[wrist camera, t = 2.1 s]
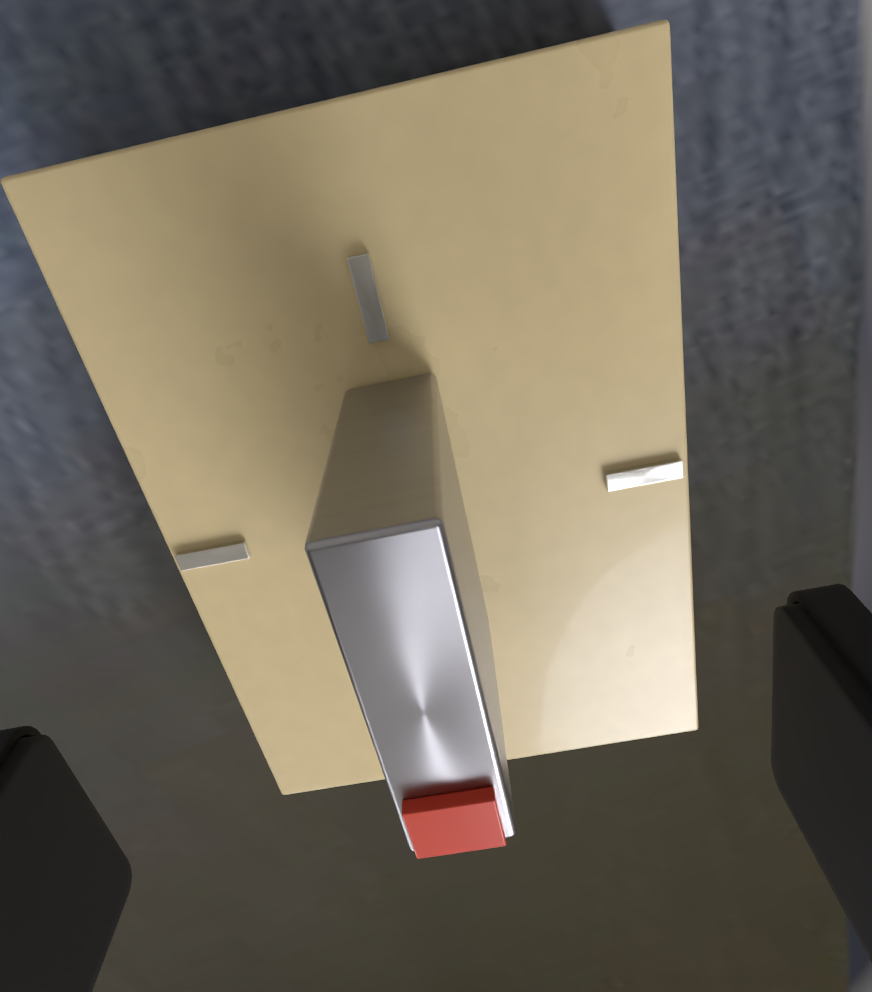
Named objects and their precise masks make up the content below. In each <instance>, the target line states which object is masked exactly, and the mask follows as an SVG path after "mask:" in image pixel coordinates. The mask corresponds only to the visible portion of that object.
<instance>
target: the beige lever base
mask: <svg viewBox="0 0 872 992" xmlns="http://www.w3.org/2000/svg"><path fill="white" fill-rule="evenodd" d="M1 184H2V187H3V189H4V191H5V193H6V195H7V197H8V200H9V202H10V204H11V206H12V208H13V210H14V213H15V215H16V217H17V219H18V221H19V223H20V226H21V228H22V230H23V232H24V234H25V236H26V239H27V241H28V243H29V245H30V247H31V250H32V252H33V254H34V256H35V258H36V260H37V263H38V265H39V267H40V269H41V271H42V273H43V276H44V278H45V280H46V282H47V284H48V286H49V289H50V291H51V293H52V295H53V297H54V300H55V302H56V304H57V306H58V308H59V310H60V313H61V315H62V317H63V319H64V321H65V323H66V326H67V328H68V330H69V332H70V334H71V336H72V339H73V341H74V343H75V345H76V347H77V350H78V352H79V354H80V356H81V358H82V360H83V363H84V365H85V367H86V369H87V371H88V373H89V376H90V378H91V380H92V382H93V384H94V386H95V389H96V391H97V393H98V395H99V397H100V400H101V402H102V404H103V406H104V408H105V410H106V413H107V415H108V417H109V419H110V421H111V423H112V426H113V428H114V430H115V432H116V434H117V436H118V439H119V441H120V443H121V445H122V447H123V449H124V452H125V454H126V456H127V458H128V460H129V463H130V465H131V467H132V469H133V471H134V473H135V476H136V478H137V480H138V482H139V484H140V486H141V489H142V491H143V493H144V495H145V497H146V499H147V502H148V504H149V506H150V508H151V510H152V513H153V515H154V517H155V519H156V521H157V523H158V526H159V528H160V530H161V532H162V534H163V536H164V539H165V541H166V543H167V545H168V547H169V549H170V552H171V554H172V556H173V558H174V560H175V563H176V565H177V567H178V569H179V571H180V573H181V576H182V578H183V580H184V582H185V584H186V586H187V589H188V591H189V593H190V595H191V597H192V599H193V602H194V604H195V606H196V608H197V610H198V613H199V615H200V617H201V619H202V621H203V623H204V626H205V628H206V630H207V632H208V634H209V636H210V639H211V641H212V643H213V645H214V647H215V649H216V652H217V654H218V656H219V658H220V660H221V662H222V665H223V667H224V669H225V671H226V673H227V676H228V678H229V680H230V682H231V684H232V686H233V689H234V691H235V693H236V695H237V697H238V699H239V702H240V704H241V706H242V708H243V710H244V712H245V715H246V717H247V719H248V721H249V723H250V726H251V728H252V730H253V732H254V734H255V736H256V739H257V741H258V743H259V745H260V747H261V749H262V752H263V754H264V756H265V758H266V760H267V762H268V765H269V767H270V769H271V771H272V773H273V776H274V778H275V780H276V782H277V784H278V786H279V789H280V791H281V793H282V794H283V795H286V794H293V793H299V792H305V791H312V790H318V789H325V788H331V787H337V786H344V785H350V784H356V783H363V782H369V781H375V780H382V779H385V776H384V774H383V771H382V768H381V765H380V762H379V759H378V756H377V754H376V751H375V748H374V745H373V742H372V739H371V737H370V734H369V731H368V728H367V725H366V722H365V719H364V717H363V714H362V711H361V708H360V705H359V702H358V700H357V697H356V694H355V691H354V688H353V685H352V682H351V680H350V677H349V674H348V671H347V668H346V665H345V663H344V660H343V657H342V654H341V651H340V648H339V645H338V643H337V640H336V637H335V634H334V631H333V628H332V626H331V623H330V620H329V617H328V614H327V611H326V608H325V606H324V603H323V600H322V597H321V594H320V591H319V589H318V586H317V583H316V580H315V577H314V574H313V571H312V569H311V566H310V563H309V560H308V557H307V554H306V552H305V542H306V539H307V535H308V531H309V527H310V523H311V520H312V516H313V512H314V508H315V504H316V501H317V497H318V493H319V489H320V485H321V482H322V478H323V474H324V470H325V467H326V463H327V459H328V455H329V451H330V448H331V444H332V440H333V436H334V432H335V429H336V425H337V421H338V417H339V413H340V410H341V406H342V402H343V398H344V395H345V391H347V390H348V389H353V388H358V387H363V386H367V385H372V384H377V383H382V382H387V381H392V380H397V379H402V378H407V377H412V376H416V375H421V374H426V373H434V374H435V376H436V378H437V382H438V387H439V392H440V396H441V401H442V406H443V410H444V415H445V420H446V424H447V429H448V433H449V438H450V443H451V447H452V452H453V457H454V461H455V466H456V471H457V475H458V480H459V484H460V489H461V494H462V498H463V503H464V508H465V512H466V517H467V522H468V526H469V531H470V536H471V540H472V545H473V549H474V554H475V559H476V563H477V568H478V573H479V577H480V582H481V587H482V591H483V596H484V600H485V605H486V610H487V614H488V619H489V626H490V634H491V641H492V649H493V657H494V665H495V672H496V680H497V688H498V695H499V703H500V711H501V719H502V726H503V734H504V742H505V749H506V757H507V760H509V759H515V758H522V757H528V756H534V755H541V754H547V753H554V752H560V751H566V750H573V749H579V748H585V747H592V746H598V745H604V744H611V743H617V742H624V741H630V740H636V739H643V738H649V737H655V736H662V735H668V734H674V733H681V732H687V731H694V730H697V729H698V707H697V683H696V658H695V633H694V609H693V584H692V559H691V535H690V510H689V485H688V461H687V436H686V411H685V387H684V362H683V338H682V313H681V288H680V264H679V239H678V214H677V190H676V165H675V140H674V116H673V91H672V66H671V42H670V24H669V22H668V20H659V21H655V22H651V23H647V24H643V25H638V26H634V27H630V28H626V29H622V30H617V31H613V32H609V33H605V34H601V35H596V36H592V37H588V38H584V39H580V40H576V41H571V42H567V43H563V44H559V45H555V46H550V47H546V48H542V49H538V50H534V51H529V52H525V53H521V54H517V55H513V56H508V57H504V58H500V59H496V60H492V61H487V62H483V63H479V64H475V65H471V66H467V67H462V68H458V69H454V70H450V71H446V72H441V73H437V74H433V75H429V76H425V77H420V78H416V79H412V80H408V81H404V82H399V83H395V84H391V85H387V86H383V87H379V88H374V89H370V90H366V91H362V92H358V93H353V94H349V95H345V96H341V97H337V98H332V99H328V100H324V101H320V102H316V103H311V104H307V105H303V106H299V107H295V108H290V109H286V110H282V111H278V112H274V113H270V114H265V115H261V116H257V117H253V118H249V119H244V120H240V121H236V122H232V123H228V124H223V125H219V126H215V127H211V128H207V129H202V130H198V131H194V132H190V133H186V134H181V135H177V136H173V137H169V138H165V139H161V140H156V141H152V142H148V143H144V144H140V145H135V146H131V147H127V148H123V149H119V150H114V151H110V152H106V153H102V154H98V155H93V156H89V157H85V158H81V159H77V160H73V161H68V162H64V163H60V164H56V165H52V166H47V167H43V168H39V169H35V170H31V171H26V172H22V173H18V174H14V175H10V176H5V177H3V178H2V179H1Z"/></svg>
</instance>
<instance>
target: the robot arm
mask: <svg viewBox="0 0 872 992" xmlns="http://www.w3.org/2000/svg"><path fill="white" fill-rule="evenodd" d="M771 761H772V768H773V773H774V777H775V780H776V782H777V785H778V788H779V790H780V792H781V794H782V796H783V798H784V799H785V801H786V803H787V805H788V807H789V809H790V811H791V812H792V814H793V816H794V818H795V820H796V822H797V824H798V826H799V827H800V829H801V831H802V833H803V835H804V837H805V839H806V840H807V842H808V844H809V846H810V848H811V850H812V852H813V854H814V855H815V857H816V859H817V861H818V863H819V865H820V867H821V868H822V870H823V872H824V874H825V876H826V878H827V880H828V882H829V883H830V885H831V887H832V889H833V891H834V893H835V895H836V896H837V898H838V900H839V902H840V904H841V906H842V908H843V910H844V911H845V913H846V915H847V917H848V919H849V921H850V923H851V924H852V926H853V928H854V930H855V932H856V934H857V936H858V938H859V939H860V941H861V943H862V945H863V947H864V949H865V951H866V952H867V954H868V956H869V958H870V960H871V962H872V613H871V612H870V611H869V610H868V609H867V608H866V607H865V606H864V605H863V603H862V602H861V601H860V600H859V599H858V598H857V597H856V596H855V595H854V594H853V592H852V591H851V590H849V589H848V588H847V587H846V586H845V585H842V584H835V585H829V586H824V587H818V588H812V589H807V590H801V591H795V592H792V593H790V594H789V596H788V599H787V605H786V606H780V607H777V608H776V609H775V611H774V635H773V692H772V748H771ZM131 880H132V873H131V867H130V864H129V861H128V859H127V858H126V856H125V855H124V853H123V851H122V850H121V848H120V847H119V845H118V843H117V842H116V840H115V839H114V837H113V836H112V834H111V832H110V831H109V829H108V828H107V826H106V824H105V823H104V821H103V820H102V818H101V817H100V815H99V813H98V812H97V810H96V809H95V807H94V805H93V804H92V802H91V801H90V799H89V798H88V796H87V794H86V793H85V791H84V790H83V788H82V786H81V785H80V783H79V782H78V780H77V779H76V777H75V775H74V774H73V772H72V771H71V769H70V768H69V766H68V764H67V763H66V761H65V760H64V758H63V756H62V755H61V753H60V752H59V750H58V749H57V747H56V745H55V744H54V742H53V741H52V740H51V739H50V737H48V736H46V735H41V734H40V732H39V731H38V730H37V729H35V728H33V727H31V726H23V727H17V728H11V729H6V730H0V992H92V990H93V987H94V985H95V982H96V979H97V977H98V974H99V971H100V969H101V966H102V963H103V961H104V958H105V955H106V953H107V950H108V947H109V945H110V942H111V939H112V937H113V934H114V931H115V929H116V926H117V923H118V921H119V918H120V915H121V913H122V910H123V907H124V905H125V902H126V899H127V897H128V894H129V891H130V887H131Z"/></svg>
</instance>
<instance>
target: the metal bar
mask: <svg viewBox="0 0 872 992" xmlns="http://www.w3.org/2000/svg"><path fill="white" fill-rule="evenodd" d="M305 552H306V554H307V557H308V560H309V563H310V566H311V569H312V571H313V574H314V577H315V580H316V583H317V586H318V589H319V591H320V594H321V597H322V600H323V603H324V606H325V608H326V611H327V614H328V617H329V620H330V623H331V626H332V628H333V631H334V634H335V637H336V640H337V643H338V645H339V648H340V651H341V654H342V657H343V660H344V663H345V665H346V668H347V671H348V674H349V677H350V680H351V682H352V685H353V688H354V691H355V694H356V697H357V700H358V702H359V705H360V708H361V711H362V714H363V717H364V719H365V722H366V725H367V728H368V731H369V734H370V737H371V739H372V742H373V745H374V748H375V751H376V754H377V756H378V759H379V762H380V765H381V768H382V771H383V774H384V776H385V779H386V782H387V785H388V788H389V791H390V794H391V796H392V799H393V802H394V805H395V808H396V811H397V813H398V816H399V819H400V822H401V825H402V828H403V831H404V833H405V836H406V839H407V842H408V845H409V847H410V849H411V850H413V851H415V854H416V857H417V858H418V859H420V858H426V857H433V856H440V855H447V854H454V853H460V852H467V851H474V850H481V849H488V848H494V847H501V846H506V837H512V836H513V835H514V834H515V830H516V826H515V819H514V811H513V803H512V796H511V788H510V780H509V773H508V765H507V757H506V749H505V742H504V734H503V726H502V719H501V711H500V703H499V695H498V688H497V680H496V672H495V665H494V657H493V649H492V641H491V634H490V626H489V619H488V614H487V610H486V605H485V600H484V596H483V591H482V587H481V582H480V577H479V573H478V568H477V563H476V559H475V554H474V549H473V545H472V540H471V536H470V531H469V526H468V522H467V517H466V512H465V508H464V503H463V498H462V494H461V489H460V484H459V480H458V475H457V471H456V466H455V461H454V457H453V452H452V447H451V443H450V438H449V433H448V429H447V424H446V420H445V415H444V410H443V406H442V401H441V396H440V392H439V387H438V382H437V378H436V376H435V374H434V373H426V374H421V375H416V376H412V377H407V378H402V379H397V380H392V381H387V382H382V383H377V384H372V385H367V386H363V387H358V388H353V389H348V390H347V391H345V395H344V398H343V402H342V406H341V410H340V413H339V417H338V421H337V425H336V429H335V432H334V436H333V440H332V444H331V448H330V451H329V455H328V459H327V463H326V467H325V470H324V474H323V478H322V482H321V485H320V489H319V493H318V497H317V501H316V504H315V508H314V512H313V516H312V520H311V523H310V527H309V531H308V535H307V539H306V542H305Z"/></svg>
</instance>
